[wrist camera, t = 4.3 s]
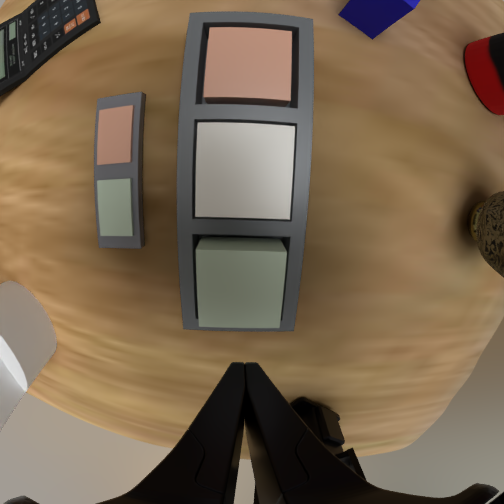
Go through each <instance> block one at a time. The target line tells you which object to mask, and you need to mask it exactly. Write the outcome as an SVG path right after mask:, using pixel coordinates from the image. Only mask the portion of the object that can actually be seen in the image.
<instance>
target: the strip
mask: <svg viewBox="0 0 504 504" xmlns="http://www.w3.org/2000/svg"><path fill="white" fill-rule="evenodd" d="M145 98H146V94H144V93H143V92H137V93H130V94H123V95H117V96H111V97H105V98H100V99H98V100H97V111H96V124H95V144H94V188H95V209H96V222H97V233H98V243H99V248H137V249H141V248H142V247H143V246H144V245H145V242H144V226H143V201H142V150H143V126H144V110H145Z"/></svg>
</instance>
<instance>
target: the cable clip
mask: <svg viewBox="0 0 504 504" xmlns="http://www.w3.org/2000/svg"><path fill="white" fill-rule="evenodd" d="M419 1H420V0H350V1H349V2H348V3H347V5H346V6H345V7H344V8H343V10H342V11H341V12H340V14H339V16H341V17H342V18H344V19H345V20H347V21H348V22H349V23H351V24H352V25H354V26H355V27H357V28H358V29H359V30H361V31H362V32H363V33H365V34H366V35H367V36H369V37H370V38H371V39H374V38H375V37H376V36H378V35H379V34H380V33H382V32H383V31H384V30H385V29H387V28H388V27H389V26H391V25H392V24H394V23H395V22H396V21H398V20H399V19H400V18H402V17H403V16H405V15H406V14H407V13H409V12H410V11H412V10H413V9H414V8H415V7H416V5H417V4H418V3H419Z"/></svg>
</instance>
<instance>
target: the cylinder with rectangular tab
mask: <svg viewBox="0 0 504 504" xmlns="http://www.w3.org/2000/svg"><path fill="white" fill-rule="evenodd" d="M56 347H57V341H56V334H55V331H54V328H53V325H52V323H51V321H50V318H49V316H48V314H47V313H46V311H45V310H44V308H43V307H42V305H41V303H40V302H39V301H38V300H37V299H36V297H35V296H34V295H33V294H32V293H31V292H30V291H29V290H27V289H26V288H25V287H24V286H22V285H21V284H19V283H17V282H14V281H6V282H3V283H2V284H0V431H1V430H2V428H3V426H4V425H5V423H6V422H7V420H8V418H9V417H10V415H11V414H12V412H13V410H14V409H15V407H16V406H17V404H18V403H19V401H20V400H21V398H22V397H23V395H24V394H25V393H26V391H27V390H28V388H29V387H30V385H31V384H32V383H33V381H34V380H35V378H36V377H37V376H38V374H39V373H40V371H41V370H42V369H43V367H44V366H45V365H46V363H47V362H48V361H49V359H50V358H51V357H52V356H53V354H54V353H55V352H56Z"/></svg>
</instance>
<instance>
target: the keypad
mask: <svg viewBox="0 0 504 504" xmlns="http://www.w3.org/2000/svg"><path fill="white" fill-rule="evenodd" d="M210 27H243V28H262V29H274V30H284V31H292V63H291V101H290V102H289V103H288V104H287V105H286V107H275V106H260V105H238V104H207V103H206V101H205V99H204V97H203V96H204V82H205V70H206V58H207V48H208V38H209V29H210ZM313 94H314V39H313V19H309V18H303V17H296V16H289V15H281V14H271V13H257V12H198V13H190V17H189V23H188V30H187V38H186V45H185V53H184V62H183V72H182V83H181V95H180V108H179V125H178V149H177V237H178V261H179V279H180V294H181V307H182V318H183V329H190V330H212V331H294V326H295V319H296V311H297V304H298V296H299V288H300V280H301V271H302V262H303V253H304V243H305V233H306V222H307V210H308V198H309V184H310V169H311V151H312V129H313ZM201 122H227V123H256V124H272V125H285V126H295V138H294V158H293V176H292V192H291V207H290V220H289V219H265V218H233V217H195V193H196V149H197V126H198V123H201ZM202 237H239V238H274V239H280V240H281V242H282V244H283V245H284V247H285V249H286V251H287V258H286V269H285V280H284V290H283V300H282V310H281V319H280V328H221V327H199V318H198V299H197V275H196V248H197V246H198V244H199V242H200V240H201V238H202Z"/></svg>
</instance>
